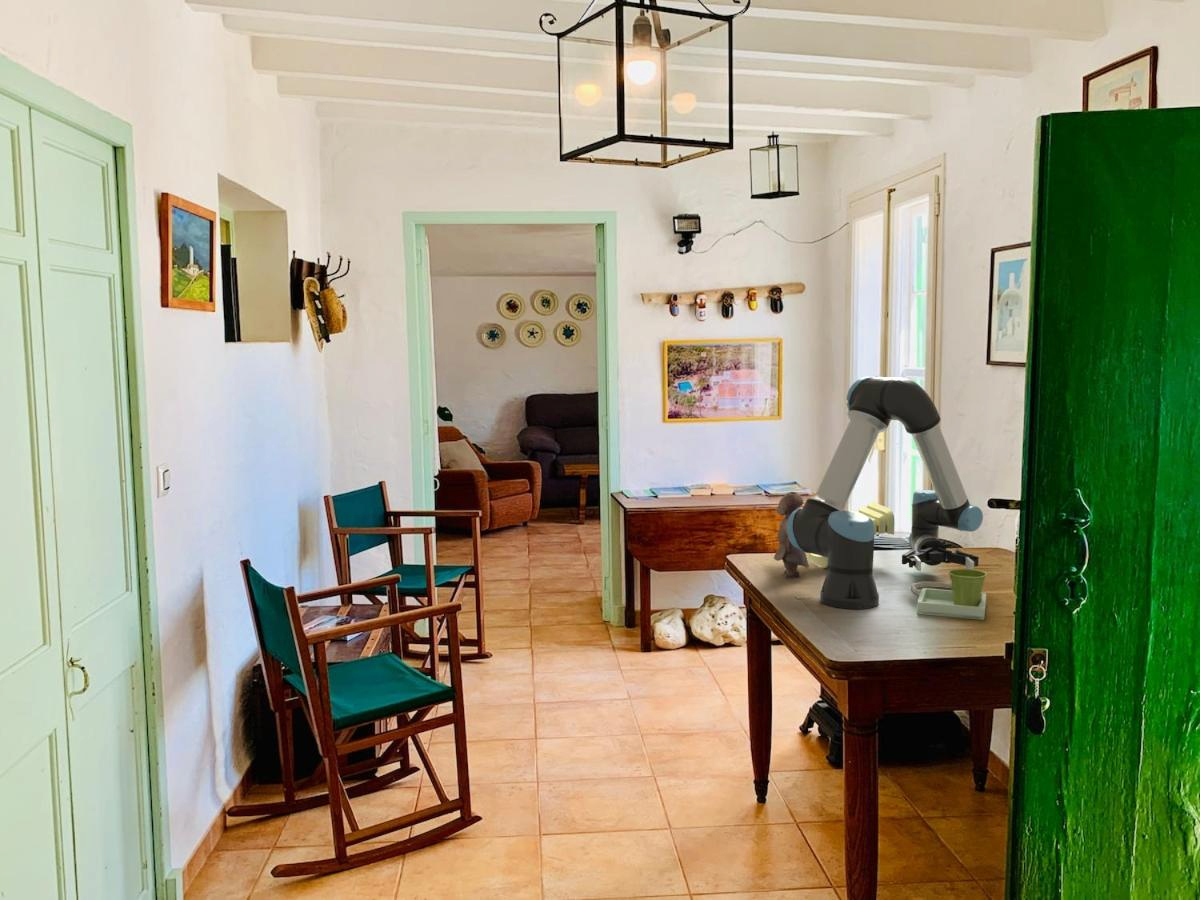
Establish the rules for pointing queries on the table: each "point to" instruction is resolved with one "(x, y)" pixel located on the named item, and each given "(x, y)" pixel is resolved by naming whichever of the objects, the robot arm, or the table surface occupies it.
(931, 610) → the tray
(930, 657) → the table surface
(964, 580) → the plant pot
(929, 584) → the collar ring
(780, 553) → the clay figurine
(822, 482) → the robot arm
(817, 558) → the slatted curved stool
